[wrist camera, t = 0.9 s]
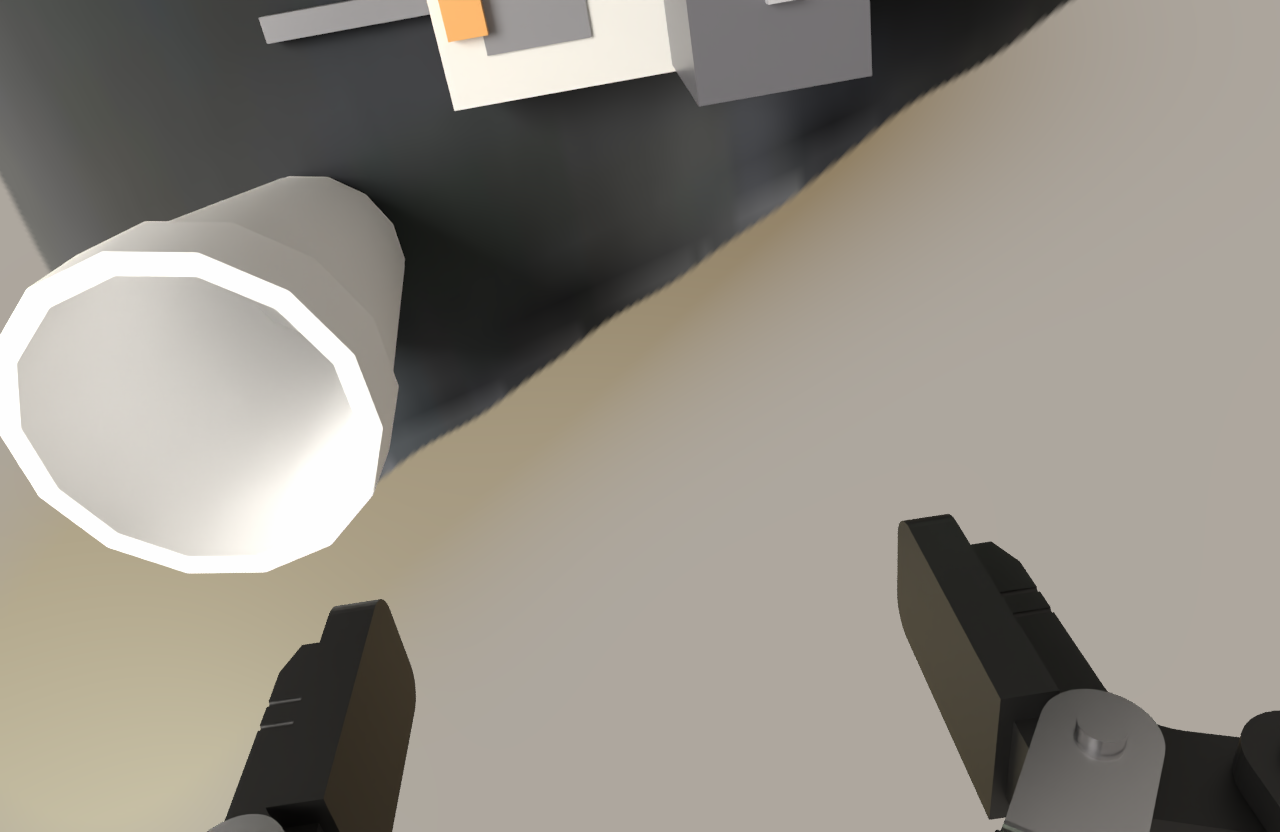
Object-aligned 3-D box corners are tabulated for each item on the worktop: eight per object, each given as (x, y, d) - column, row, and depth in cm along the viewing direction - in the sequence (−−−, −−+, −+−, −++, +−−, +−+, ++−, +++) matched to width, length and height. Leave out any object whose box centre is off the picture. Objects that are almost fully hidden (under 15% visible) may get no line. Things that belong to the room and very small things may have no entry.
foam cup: (358, 411, 37) (263, 626, 26) (145, 277, 34) (-70, 456, 23) (494, 239, 34) (452, 399, 23) (273, 73, 31) (98, 164, 20)
